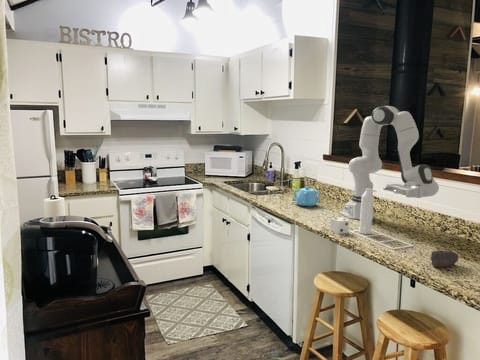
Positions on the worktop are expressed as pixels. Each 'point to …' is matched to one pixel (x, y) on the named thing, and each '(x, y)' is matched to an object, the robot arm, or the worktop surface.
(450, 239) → the worktop surface
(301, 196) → the decorative pot
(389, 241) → the game track
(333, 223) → the die
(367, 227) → the white bottle
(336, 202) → the worktop surface
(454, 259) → the perforated stone tool
